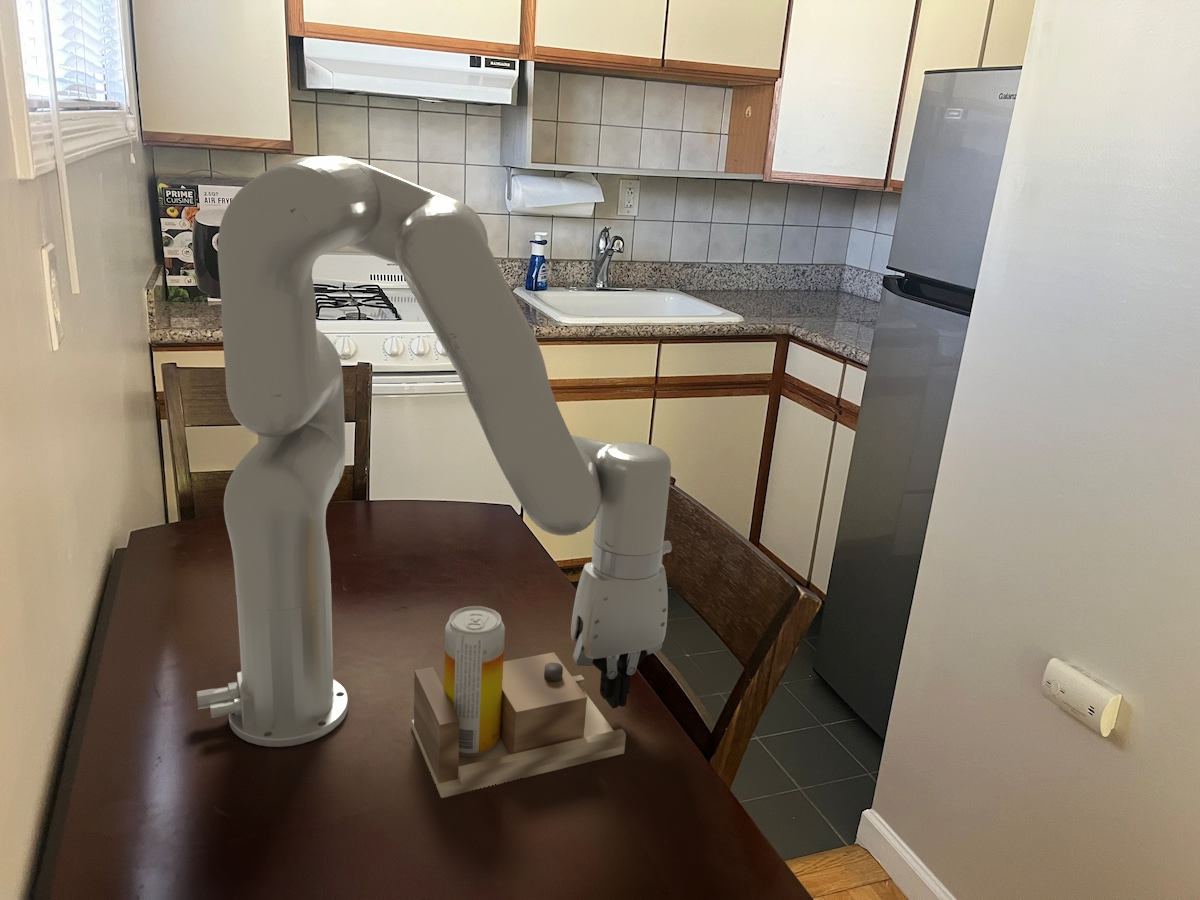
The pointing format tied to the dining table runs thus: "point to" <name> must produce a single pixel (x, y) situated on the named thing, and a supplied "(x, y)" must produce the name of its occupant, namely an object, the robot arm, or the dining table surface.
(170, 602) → the dining table surface
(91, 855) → the dining table surface
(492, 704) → the beer can
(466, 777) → the vise base
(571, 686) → the block
